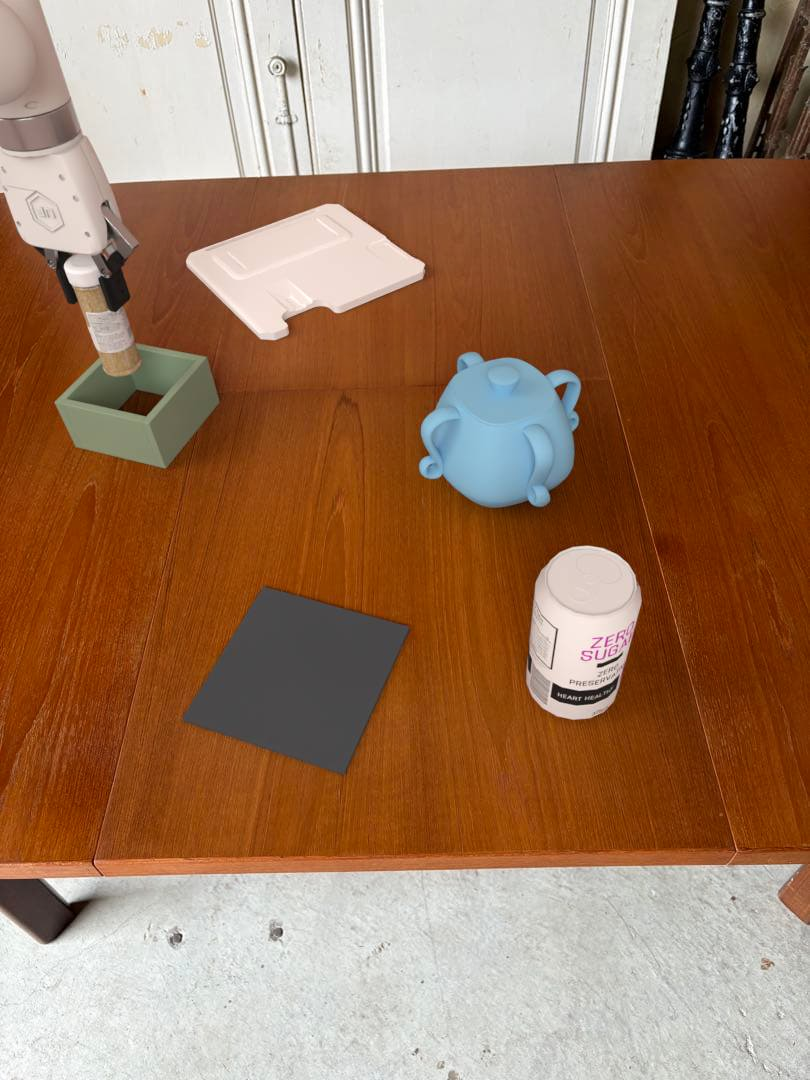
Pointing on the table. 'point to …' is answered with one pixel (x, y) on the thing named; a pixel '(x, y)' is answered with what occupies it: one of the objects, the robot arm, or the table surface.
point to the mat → (299, 679)
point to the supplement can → (581, 631)
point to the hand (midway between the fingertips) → (99, 299)
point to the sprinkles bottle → (103, 319)
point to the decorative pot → (502, 431)
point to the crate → (136, 436)
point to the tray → (303, 268)
